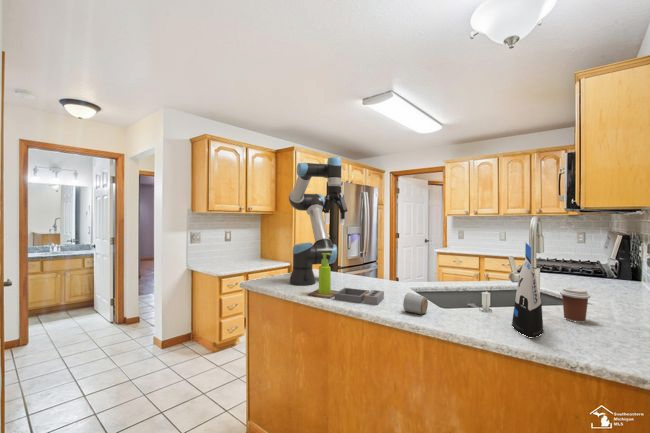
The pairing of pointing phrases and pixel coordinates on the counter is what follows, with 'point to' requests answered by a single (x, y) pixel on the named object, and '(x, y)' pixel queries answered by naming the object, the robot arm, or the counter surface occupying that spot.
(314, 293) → the walnut pad
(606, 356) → the counter surface
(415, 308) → the ceramic mug
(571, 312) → the coffee cup
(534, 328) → the protein powder
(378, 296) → the tray
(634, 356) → the counter surface
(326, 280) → the soap dispenser
